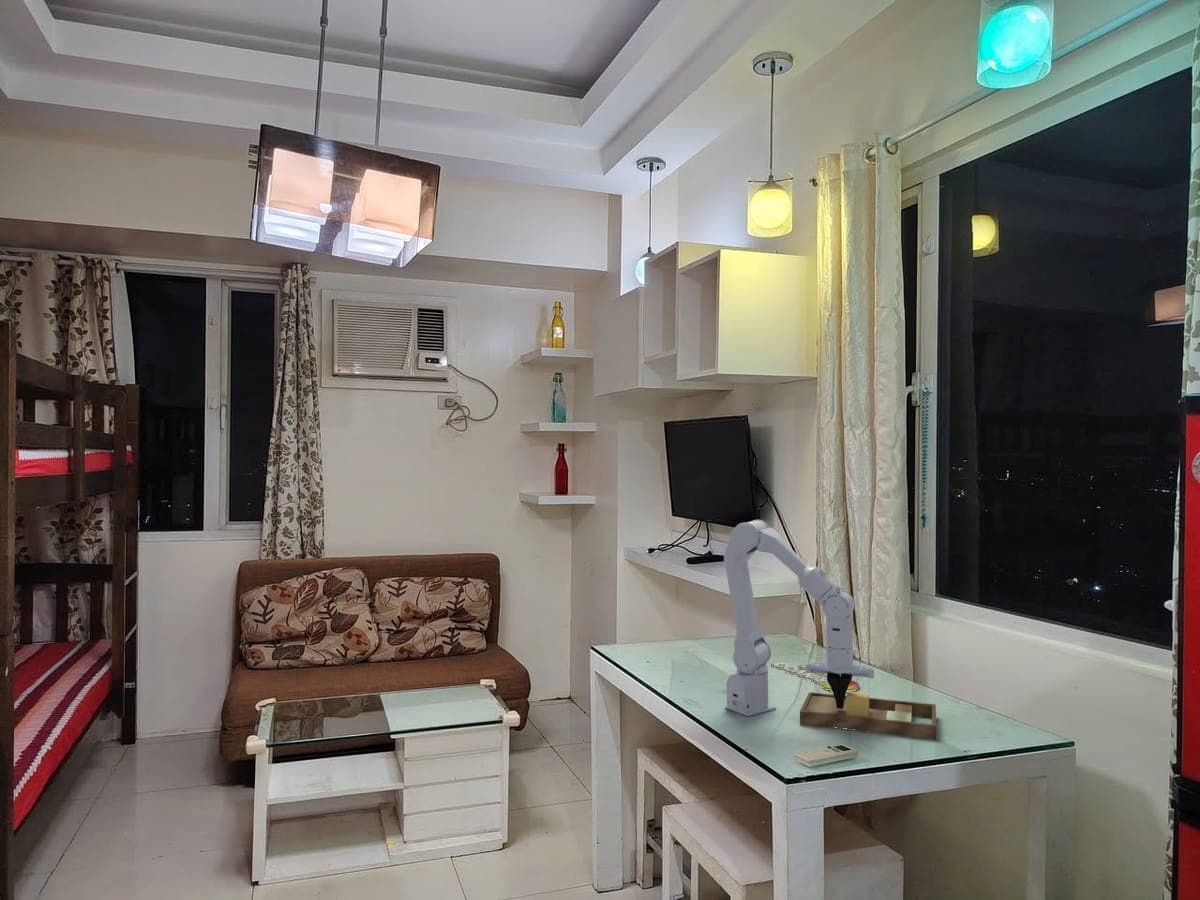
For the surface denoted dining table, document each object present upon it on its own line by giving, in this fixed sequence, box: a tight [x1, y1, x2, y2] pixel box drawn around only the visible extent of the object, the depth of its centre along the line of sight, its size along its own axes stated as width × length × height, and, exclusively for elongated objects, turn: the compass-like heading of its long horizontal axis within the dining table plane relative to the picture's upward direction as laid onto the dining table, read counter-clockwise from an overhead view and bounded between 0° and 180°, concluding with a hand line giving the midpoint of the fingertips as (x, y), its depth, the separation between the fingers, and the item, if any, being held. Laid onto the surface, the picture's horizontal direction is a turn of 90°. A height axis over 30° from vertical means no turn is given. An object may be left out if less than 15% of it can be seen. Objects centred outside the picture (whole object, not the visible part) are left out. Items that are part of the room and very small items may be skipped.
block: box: [845, 691, 870, 717], centre depth 182 cm, size 4×4×4 cm
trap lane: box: [799, 691, 938, 740], centre depth 184 cm, size 28×16×3 cm, turn 68°
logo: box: [770, 662, 860, 690], centre depth 219 cm, size 29×1×10 cm
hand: (840, 707), depth 183 cm, fingers closed
